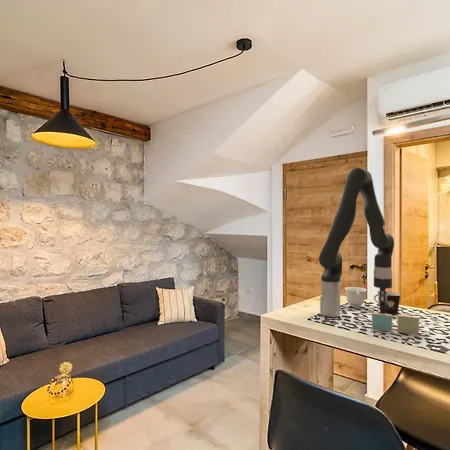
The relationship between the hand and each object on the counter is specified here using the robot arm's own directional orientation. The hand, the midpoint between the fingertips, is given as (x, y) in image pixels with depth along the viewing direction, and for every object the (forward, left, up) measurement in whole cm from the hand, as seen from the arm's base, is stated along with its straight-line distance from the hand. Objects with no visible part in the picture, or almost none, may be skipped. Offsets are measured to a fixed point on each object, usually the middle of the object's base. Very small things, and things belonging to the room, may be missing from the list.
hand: (382, 314), depth 147 cm
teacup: (-14, +31, -5) cm, 34 cm away
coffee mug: (+2, +28, -5) cm, 28 cm away
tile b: (+10, -4, -5) cm, 12 cm away
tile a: (0, -6, -5) cm, 8 cm away
